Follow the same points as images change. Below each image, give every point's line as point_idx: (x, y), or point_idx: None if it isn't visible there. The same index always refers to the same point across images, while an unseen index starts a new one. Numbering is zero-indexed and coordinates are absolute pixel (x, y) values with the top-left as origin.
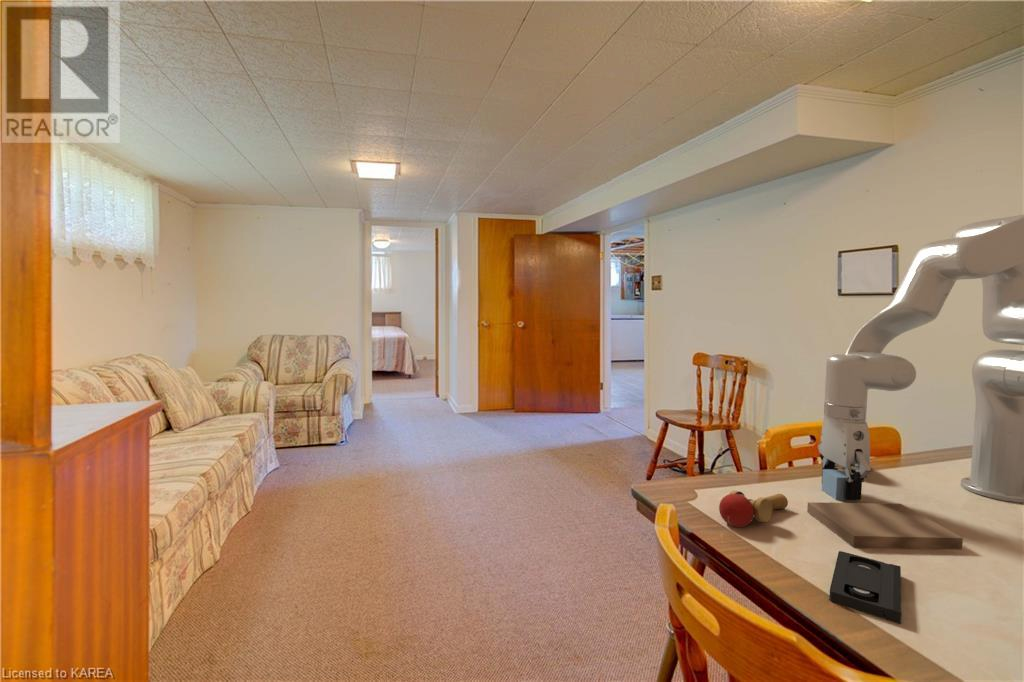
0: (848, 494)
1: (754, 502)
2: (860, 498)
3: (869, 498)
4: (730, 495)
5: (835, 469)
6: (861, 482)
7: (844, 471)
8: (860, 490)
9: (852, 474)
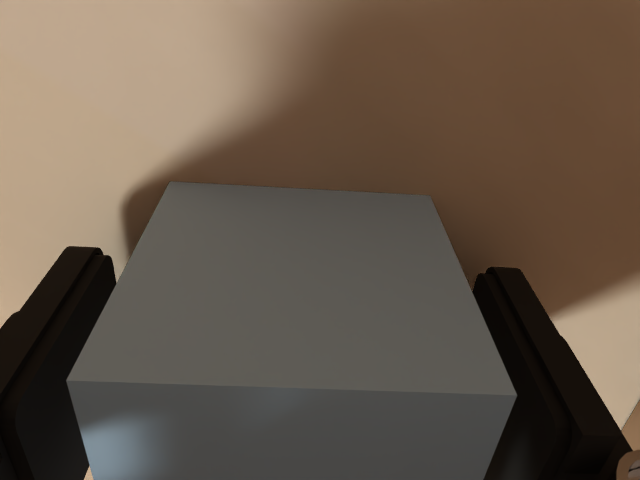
0: None
1: None
2: (518, 274)
3: (399, 48)
4: None
5: (21, 444)
6: (610, 428)
7: (189, 446)
8: (551, 340)
9: (340, 418)
